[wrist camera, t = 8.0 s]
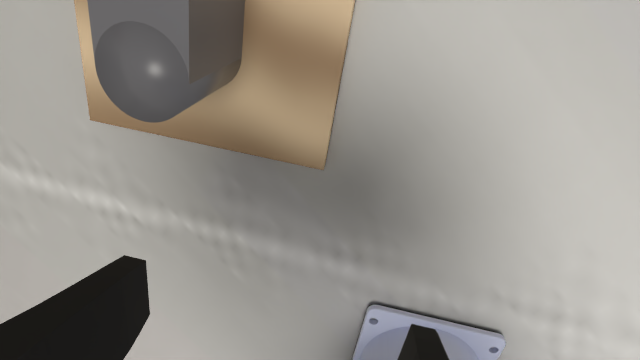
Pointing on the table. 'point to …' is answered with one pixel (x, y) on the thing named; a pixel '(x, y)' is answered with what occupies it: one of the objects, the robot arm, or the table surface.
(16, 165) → the table surface
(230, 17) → the usb plug
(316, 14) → the cork coaster
